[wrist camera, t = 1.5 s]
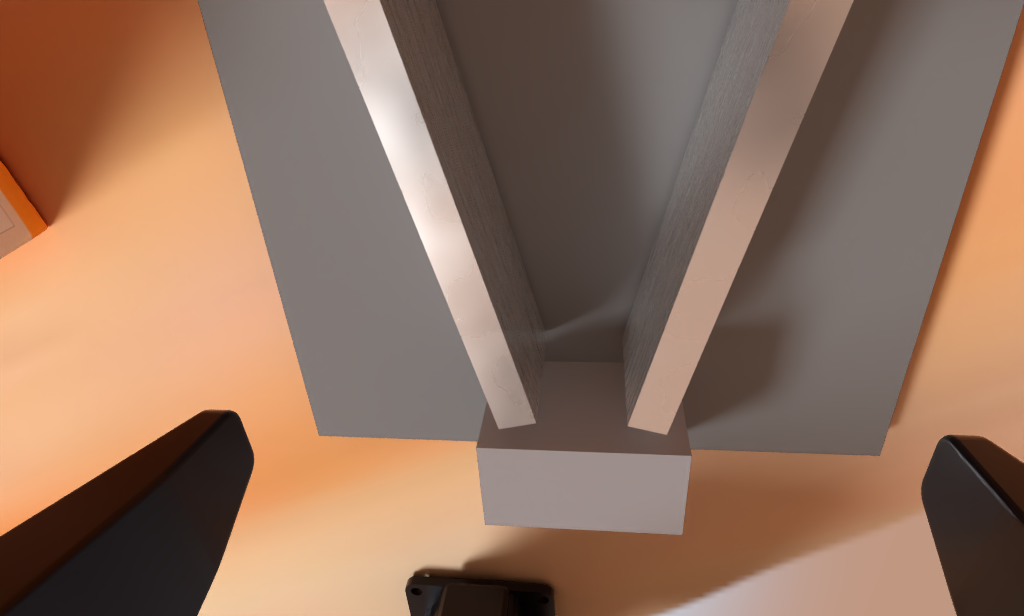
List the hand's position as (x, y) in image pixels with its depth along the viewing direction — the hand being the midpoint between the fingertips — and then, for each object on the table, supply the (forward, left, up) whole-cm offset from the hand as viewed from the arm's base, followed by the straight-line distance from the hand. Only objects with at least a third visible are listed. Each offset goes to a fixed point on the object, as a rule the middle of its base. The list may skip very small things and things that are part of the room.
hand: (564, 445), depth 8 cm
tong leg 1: (+2, +3, -10) cm, 11 cm away
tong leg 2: (+2, -3, -10) cm, 11 cm away
